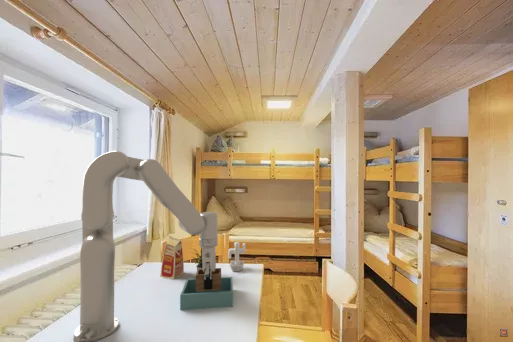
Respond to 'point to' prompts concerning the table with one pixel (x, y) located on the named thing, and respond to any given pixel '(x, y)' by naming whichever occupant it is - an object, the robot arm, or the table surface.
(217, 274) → the walnut crate
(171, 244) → the milk carton
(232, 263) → the figurine
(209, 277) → the robot arm
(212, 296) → the teal crate
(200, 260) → the house plant
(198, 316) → the table surface
